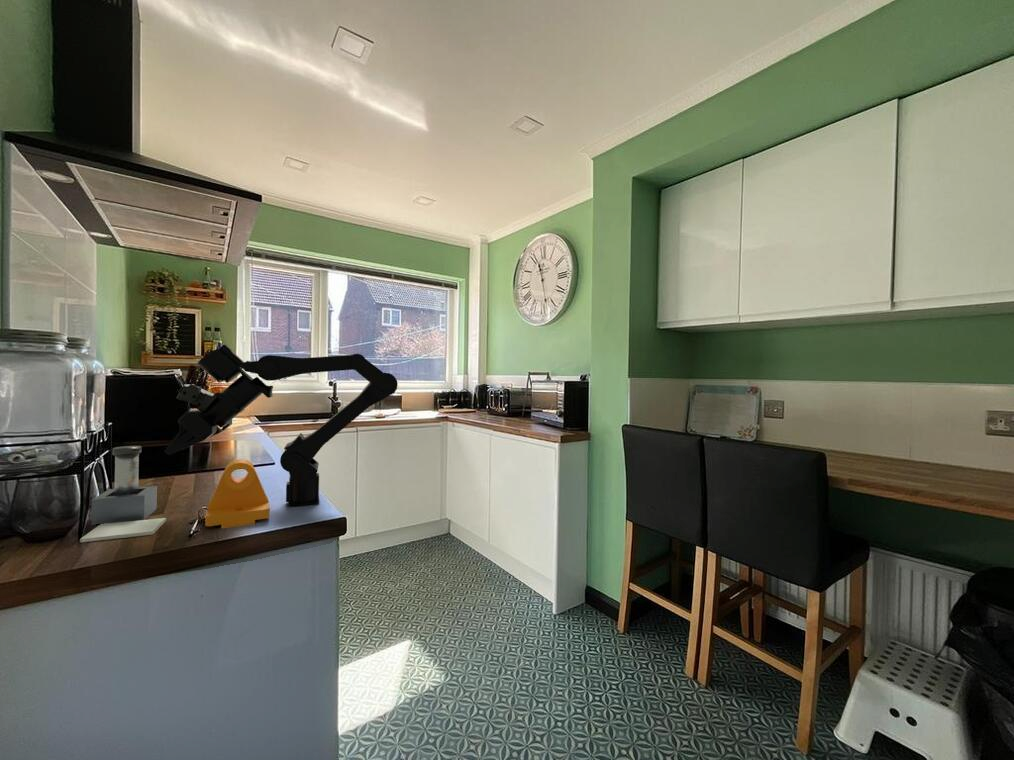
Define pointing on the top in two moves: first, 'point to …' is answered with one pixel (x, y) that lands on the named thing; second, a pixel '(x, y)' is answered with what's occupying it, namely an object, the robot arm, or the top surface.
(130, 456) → the key peg
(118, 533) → the mat
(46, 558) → the top surface
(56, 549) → the top surface
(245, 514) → the bracket
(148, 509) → the grey open box
